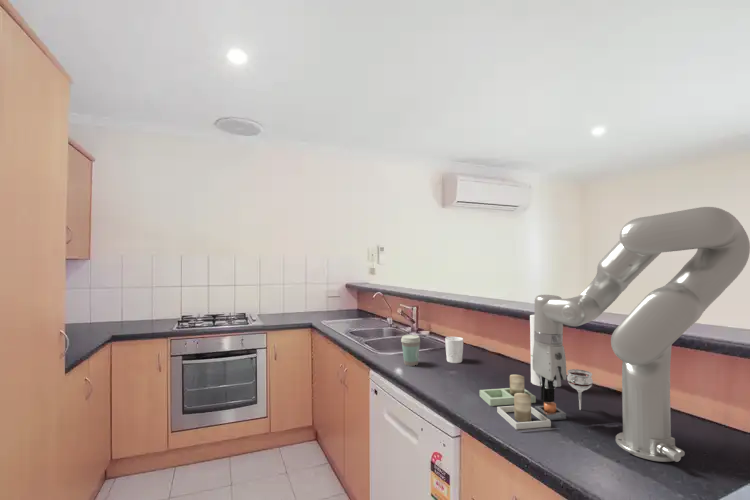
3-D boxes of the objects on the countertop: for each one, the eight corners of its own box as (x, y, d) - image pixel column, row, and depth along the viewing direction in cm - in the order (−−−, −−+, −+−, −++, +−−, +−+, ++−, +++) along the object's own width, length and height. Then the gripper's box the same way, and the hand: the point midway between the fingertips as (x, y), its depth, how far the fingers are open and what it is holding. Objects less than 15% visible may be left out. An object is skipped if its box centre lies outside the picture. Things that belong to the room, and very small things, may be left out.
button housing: (566, 422, 106) (566, 413, 106) (546, 423, 105) (546, 415, 105) (553, 413, 112) (553, 405, 112) (534, 414, 111) (534, 406, 111)
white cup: (441, 359, 169) (441, 337, 169) (456, 357, 172) (455, 335, 172) (452, 364, 162) (452, 341, 162) (467, 362, 165) (466, 339, 165)
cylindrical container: (555, 389, 131) (553, 318, 131) (533, 388, 132) (532, 317, 132) (549, 382, 138) (548, 314, 138) (529, 381, 139) (528, 314, 139)
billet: (534, 423, 104) (534, 398, 104) (519, 424, 104) (519, 399, 104) (525, 416, 109) (525, 392, 109) (511, 417, 108) (511, 393, 108)
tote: (550, 430, 101) (550, 420, 101) (516, 432, 100) (516, 423, 100) (528, 412, 112) (528, 404, 112) (497, 415, 111) (497, 406, 111)
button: (558, 414, 107) (558, 405, 107) (548, 415, 107) (548, 405, 107) (551, 409, 110) (551, 400, 110) (541, 410, 110) (541, 401, 110)
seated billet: (527, 400, 119) (526, 378, 119) (514, 401, 118) (513, 379, 118) (520, 395, 123) (519, 374, 123) (507, 396, 123) (507, 374, 123)
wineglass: (594, 411, 113) (593, 371, 113) (592, 419, 107) (591, 377, 107) (568, 406, 117) (568, 367, 117) (566, 414, 111) (565, 373, 111)
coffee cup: (418, 367, 158) (418, 339, 158) (399, 366, 160) (398, 338, 160) (422, 362, 166) (422, 334, 166) (403, 360, 168) (403, 333, 168)
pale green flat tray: (535, 405, 117) (535, 396, 117) (490, 409, 115) (490, 399, 115) (522, 396, 125) (522, 387, 125) (479, 399, 123) (479, 390, 123)
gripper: (577, 344, 102) (576, 411, 102) (545, 331, 117) (544, 390, 117) (551, 345, 101) (551, 413, 101) (522, 332, 116) (521, 391, 116)
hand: (547, 400), depth 109 cm, fingers closed
